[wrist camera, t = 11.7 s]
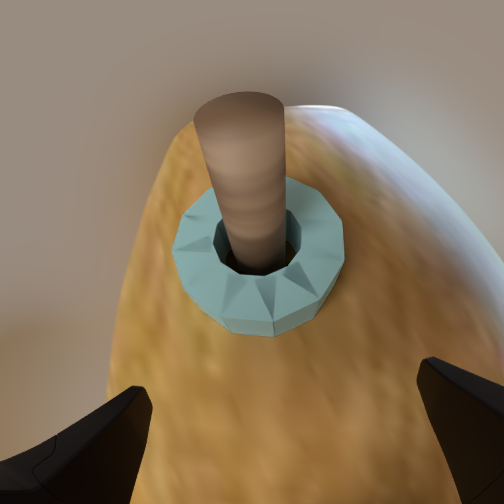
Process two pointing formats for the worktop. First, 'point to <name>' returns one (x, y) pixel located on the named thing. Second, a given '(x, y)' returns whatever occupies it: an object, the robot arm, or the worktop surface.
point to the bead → (261, 287)
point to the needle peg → (248, 175)
